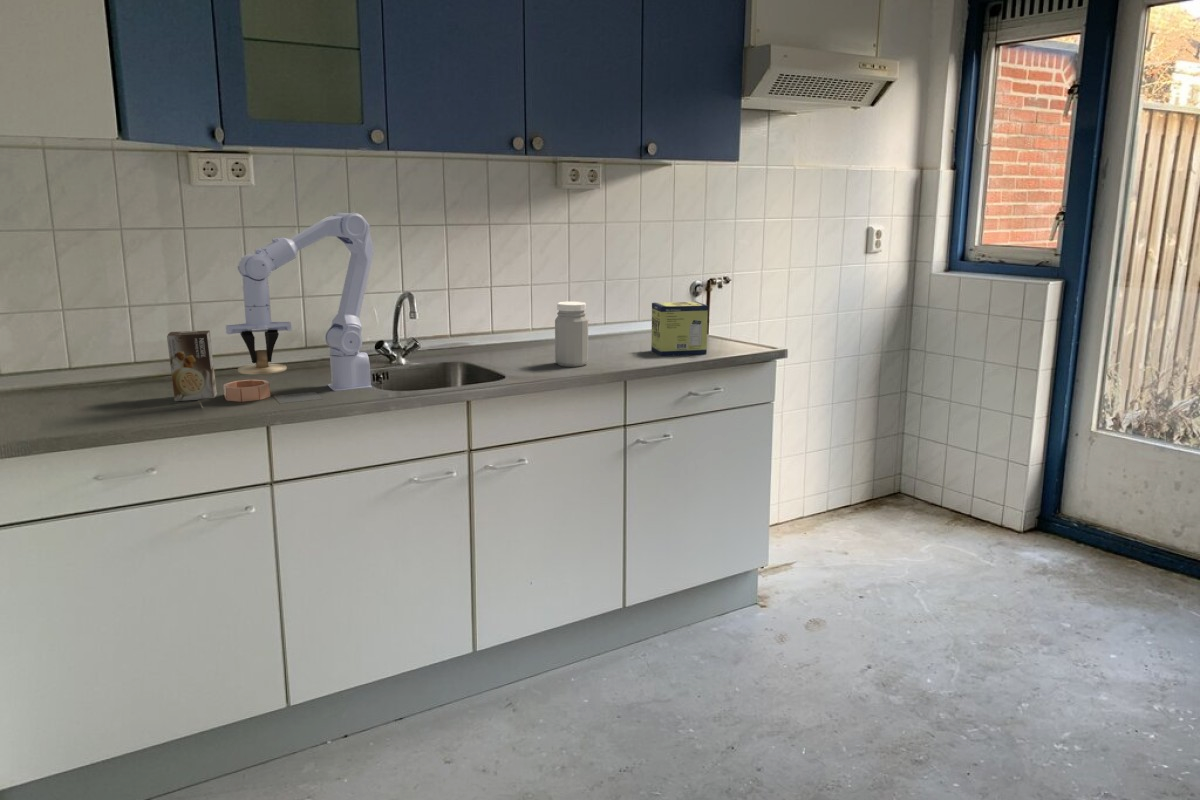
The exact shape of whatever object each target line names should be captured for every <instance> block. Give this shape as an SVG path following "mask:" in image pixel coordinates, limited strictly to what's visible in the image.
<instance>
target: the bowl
mask: <svg viewBox="0 0 1200 800" xmlns="http://www.w3.org/2000/svg"><path fill="white" fill-rule="evenodd" d="M223 394H224V398H225V400H226V401H228V402H238V403H239V402H242V403H243V402H252V401H259V400H263V399H266V398H269V397H271V386H270V382H269V381H268V380H264V379H243V380H235V381H231V382H227V383H224V384H223Z"/></svg>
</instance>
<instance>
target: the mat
mask: <svg viewBox="0 0 1200 800" xmlns="http://www.w3.org/2000/svg"><path fill="white" fill-rule="evenodd" d="M272 396H273V398H274V400H276V401H277V403H278V404H279V405H280V404H289V403H300V402H308V401H309V402H310V401H319V400H324V398H322V396H320V395H319V394H318V393H317V392H316V391H312V392H311V391H310V392H309V391H308V392H299V393H290V394H289V393H288V394H281V395H280V394H278V395H272Z"/></svg>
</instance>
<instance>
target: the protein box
mask: <svg viewBox="0 0 1200 800" xmlns="http://www.w3.org/2000/svg"><path fill="white" fill-rule="evenodd" d="M708 309H709V307H708V305H706V304H704V303H702V302H699V301H695V300H694V301H676V302H675V301H672V302H670V301H669V302H651V346H650V347H651V348H650V351H652V352H653V353H654V354H656V355H658V356H660V357H670V356H671V357H672V356H673V357H674V356H696V355H697V356H699V355H707V351H708V350H707V349H708V347H707V346H708V318H709V317H708V315H709V314H708V312H709V311H708Z"/></svg>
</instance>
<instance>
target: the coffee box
mask: <svg viewBox="0 0 1200 800" xmlns="http://www.w3.org/2000/svg"><path fill="white" fill-rule="evenodd" d="M211 339H212V338H211V330H189V331H188V330H185V331H170V332H169V333H168V334H167V336H166V341H167V347H168V357H169V364H170V366H169V367H170V374H171V382H172V389H173V399H174V402H181V401H182V402H183V401H198V400H199V401H200V400H202V399H215V398H216V396H217V394H218V393H217V392H218V391H217V386H216V374H215V368H214V358H213V349H212V340H211Z"/></svg>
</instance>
